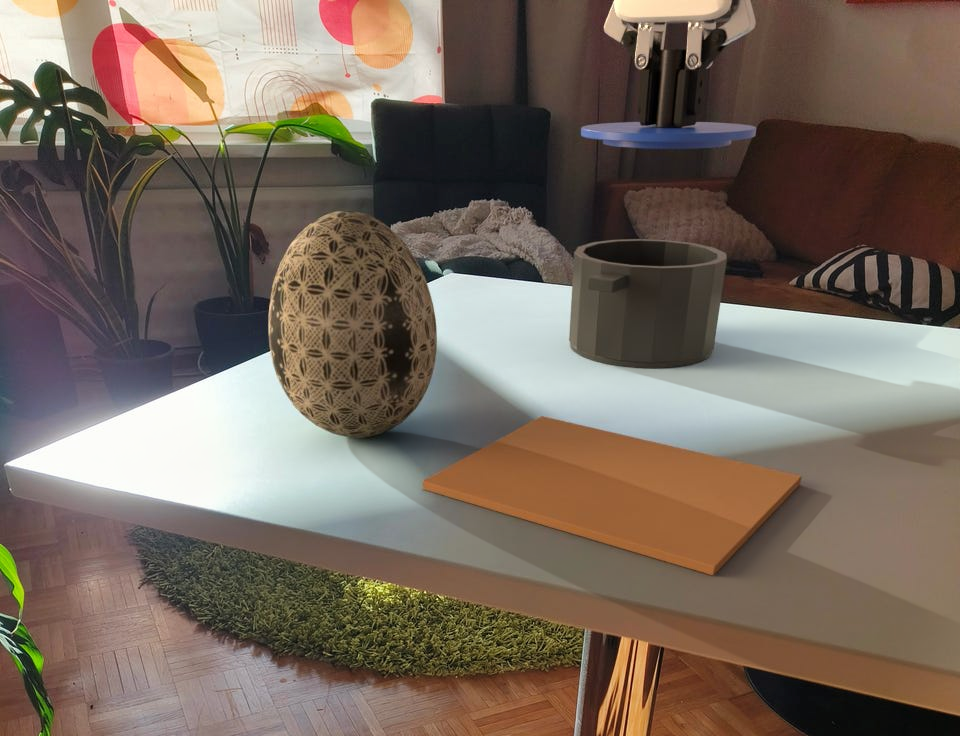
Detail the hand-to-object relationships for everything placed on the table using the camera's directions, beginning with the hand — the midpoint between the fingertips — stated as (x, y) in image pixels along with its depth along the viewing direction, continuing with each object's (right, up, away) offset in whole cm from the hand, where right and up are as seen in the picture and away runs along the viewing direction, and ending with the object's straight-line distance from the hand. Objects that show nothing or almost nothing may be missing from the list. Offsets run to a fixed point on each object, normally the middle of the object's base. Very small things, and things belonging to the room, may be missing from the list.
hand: (668, 123), depth 75 cm
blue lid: (0, -1, 0) cm, 1 cm away
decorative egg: (-25, -29, -9) cm, 39 cm away
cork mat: (-7, -34, -17) cm, 38 cm away
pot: (0, -16, +10) cm, 19 cm away
